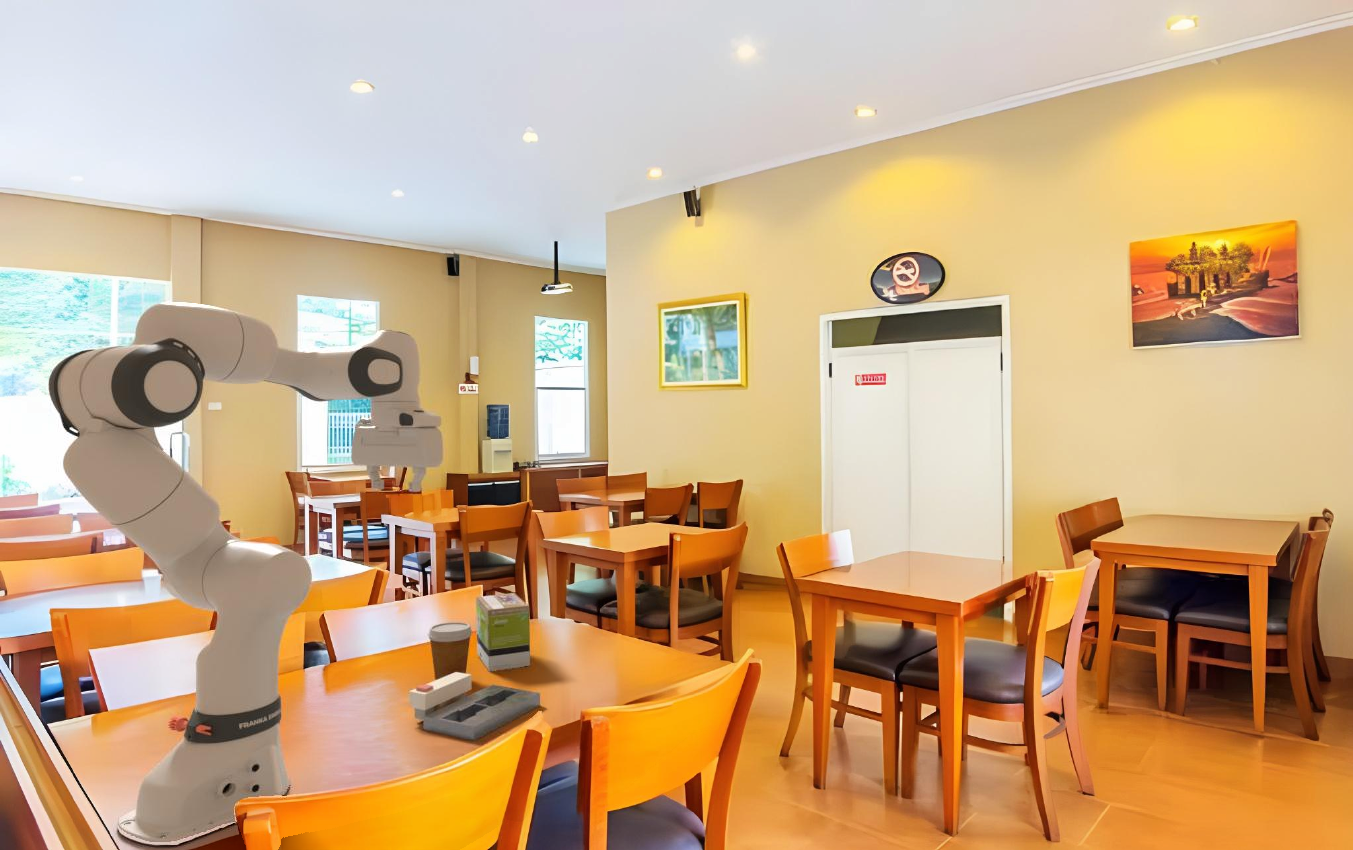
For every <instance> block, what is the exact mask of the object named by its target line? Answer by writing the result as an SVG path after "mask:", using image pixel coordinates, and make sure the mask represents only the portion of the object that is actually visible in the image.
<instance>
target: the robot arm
mask: <svg viewBox="0 0 1353 850" xmlns="http://www.w3.org/2000/svg"><path fill="white" fill-rule="evenodd" d="M419 355H420V354H419V348H418V345H417V342H416V340H415V338H414V337H413V336H412V335H410V334H408V333H406V332H402V331H397V330H390V329H387V330H386V329H383V330H382V329H381V330H378V331H376V332H374V335H372V336H371V337H370V338H368V339H366V340H365V341H362V342H360V343H357V344H354V345H348V346H334V347H330V346H329V347H325V346H316V347H308V348H306V349H303V350H299V351H298V350H297V351H296V350H293V349H288V348H284V347H282V346H281V347H280V346H279V344H278V340H277V336H276V334H275V332H274V331H273V329H272V328H271V326H270V325H269V324H268V323H266V322H264V321H262V320H260V319H258V318H256V317H254V316H251V315H248V314H246V313H242V312H239V311H235V310H231V309H226V308H221V307H218V306H212V305H206V304H200V303H199V304H198V303H191V302H190V303H189V302H173V301H166V302H165V301H164V302H159V303H157V304H153V305H151V306H150V307H149V308H147V309H146V310H145V311H144V312H143V313H142V314H141V316H140V317H139V320H138V321H137V324H136V328H135V336H134V339H133V342H131V344H130V345H129V344H128V346H123V345H119V346H108V347H102V348H97V349H85V350H81V351H78V352H76V353H73V354H72V355H71V354H70V355H69V356H67V357H65V358H64V359H62V360H61V361H60V362H59V363H57V365H56V366H55V367H54V368H53V369H52V371H51V373H50V376H49V380H48V393H49V397H50V399H51V402H52V404H53V406H54V408H55V410H56V411H57V413H58V414H59V417H60V421H61V424H62V427H63V429H64V430H65V431H66V432H67V433H69V434H71V435H72V436H75V437H77V438H76V439H74V440H73V442H72V443H70V445H69V446H68V448H67V450H66V451H65V453H64V456H63V460H62V466H63V471H64V473H65V475H66V476H67V478H68V479H69V480H70V482H71V483H72V484H73V485H74V487H75V488H76V489H77V491H78V492H79V494H80V495H81V496H82V497H83V498H84V499H85V500H86V501H87V502H88V504H89V505H91V507H92V508H93V509H94V510H95V511H97V512H98V514H100V515H101V517H103V519H105V520H106V521H107V522H108V523H109V524H111V525H112V526H113V527H114V528H116V529H117V530H118V531H119V532H120V533H121V534H123V535H124V536H125V537H126V538H127V539H128V540H129V541H131V542H132V543H133V544H134V545H136V546H137V547H138V548H139V549H140V550H142V551H143V553H145V554H146V555H147V556H148V558H150V559H151V560H152V561H153V562H154V564H155V565H156V566H157V568H158V569H159V571H160V572H161V574H162V575H163V583H164V585H165V588H166V590H167V592H168V593H169V594H170V595H171V596H172V597H173V598H175V599H177V600H179V601H180V602H182V603H184V604H186V605H188V606H190V607H192V608H195V609H200V610H206V611H211V612H212V611H213V612H216V613H217V620H216V625H215V628H214V629H215V630H214V633H213V635H212V638H211V641H210V642H209V643H208V644H207V645H206V646H204V647H203V648H202V649H201V650H200V652H198V654H197V656H196V660H195V706H194V708H193V710H192V713H191V714H190V717H189V719H188V718H187V717H182V716H180V715H174V716H172V717H171V718H170V720H169V721H168V724H167V726H168V729H170V731H176V732H178V733H179V732H183V738H182V739H181V740H180V742H178V743H177V744H176V745H175V746H174V748H173V749H172V750H170V751H169V752H168V753H167V754H166V755H165V757H163V759H162V760H161V761H159V763H158V764H157V765H155V766H154V768H152V769H151V770H150V772H149V773H147V774H146V775H145V777H144V778H143V779H142V781H141V784H140V786H139V790H138V795H137V801H136V807H135V809H133V810H131V811H129V812H127V813H126V814H125V813H124V815H122V816H120V817H119V818H118V820H117V826H119V828H120V829H121V830H123V831H124V832H126V833H127V834H130V835H131V836H135V837H136V838H139V839H142V840H145V841H149V842H171V841H177V840H180V839H183V838H187V837H189V836H193V835H195V834H199V833H201V832H206V831H207V830H211V829H213V828H215V827H217V826H221V825H222V824H227V823H231V822H236V821H235V815H234V806H235V804H236V803H237V802H238V801H240V800H242V799H244V798H248V797H259V796H274V795H284V796H285V794H286V793H287V791H288V790H289V788H290V786H291V781H290V778H289V775H288V774H287V773H288V772H287V770H286V766H285V761H284V756H283V751H282V744H281V736H280V723H281V719H282V698H281V695H280V694H279V684H278V683H279V654H280V646H281V641H282V637H283V635H284V631H285V628H286V625H287V623H288V621H289V619H290V617H291V615H292V614H293V613H294V611H296V610H297V609H298V608H299V607H300V606H301V605H303V603H304V601H305V600H306V598H307V597H308V595H309V592H310V590H311V587H312V582H313V581H312V580H313V579H312V578H313V577H312V569H311V565H310V563H309V561H308V560H307V559H306V558H305V557H304V556H303V555H302V554H301V553H299V552H297V551H295V550H292V549H290V548H287V547H285V546H282V545H280V544H276V543H268V542H267V543H266V542H257V541H248V540H244V539H241V538H240V537H239V538H238V537H237V536H234V535H233V534H232V533H230V532H229V531H228V530H227V529H226V528H225V527H224V525H223V523H222V521H221V519H220V514H221V510H220V509H221V508H220V505H219V503H218V502H217V500H216V499H215V498H214V496H212V495H211V494H210V493H209V492H208V491H207V490H206V489H205V488H204V487H203V486H201V484H200V483H199V482H198V481H196V479H194V477H192V476H191V474H189V473H188V472H187V471H186V470H185V469H184V467H182V466H181V465H180V464H179V463H178V462H177V461H176V460H175V459H174V458H173V457H172V456H170V455H169V454H168V453H167V452H165V451H164V448H163V447H162V445H161V444H160V442H159V439H158V438H157V434H156V430H155V428H163V427H166V426H171V425H174V424H176V423H179V422H181V421H183V420H185V419H186V418H187V417H189V416H190V415H192V413H193V412H194V411H195V410H196V409H197V407H198V405H199V403H200V400H201V398H202V394H203V390H204V381H210V382H215V383H216V382H217V383H222V384H236V385H237V384H238V385H239V384H241V385H242V384H245V385H246V384H258V383H261V382H268V383H272V384H273V383H274V384H278V385H282V386H283V385H284V386H286V387H289V388H292V389H293V390H294V391H296V392H298V393H299V394H301V395H302V396H304V397H305V398H306V399H309V400H311V401H313V402H320V403H321V402H328V401H329V402H330V401H334V400H335V401H337V400H338V401H341V400H347V401H348V400H367V399H370V418H369V417H362V418H360V419H359V420H358V421H357V422H356V423H355V425H354V433H353V436H352V444H351V452H350V453H351V455H350V456H351V457H350V458H351V462H352V463H353V465H354V466H364V467H365V466H366V473H367V475H368V477H369V480H370V481H371V490H373V491H374V490H375V491H380V490H384V489H385V480H383V479H381V476H380V473H379V472H381V467H394V468H396V467H398V468H399V467H401V468H402V467H403V468H411V469H412V470H411V471H412V473H413V474H414V475H413V478H412V481H409V482H408V491H409V492H412V493H414V492H415V493H417V492H418V493H419V492H422V491H421V490H422V482H423V479H424V478H425V476H426V474H427V468H437V467H438V468H439V467H440V465H441V464H442V462H443V460H444V447H443V446H444V445H443V444H444V443H443V434H442V432H441V430H440V429H439V428H438V427H441V425H442V417H441V416H440V415H439V414H436V413H434V412H431V411H429V410H427V409H424V408H422V407H421V399H420V396H419V391H418V389H419V385H420V380H421V377H420V376H421V373H420V370H421V369H420V368H421V366H420V356H419ZM71 428H72V429H71ZM73 430H75V431H73ZM289 785H290V786H289ZM288 787H289V788H288ZM287 789H288V790H287ZM125 824H129V825H125ZM163 837H164V838H163Z"/></svg>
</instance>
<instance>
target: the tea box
mask: <svg viewBox="0 0 1353 850" xmlns="http://www.w3.org/2000/svg"><path fill="white" fill-rule="evenodd" d="M475 601H476V603H475V604H476V649H477V651H476V652H477V655H478V657H479V659H480V660H481V661H482V663H483V665H485V667H486V669H487V670H488V671H492V672H496V671H495V670H500V671H505V669H507V670H513V669H512V668H514V669H519V668H520V667H521V668H526V667H525V666H527V667H530V666H531V646H530V645H531V643H530V642H531V636H530V635H531V633H530V632H531V631H530V630H531V629H530V623H531V622H530V605H529V604H527V603H526V602H525V600H523V599H522V598H520V596H518V595H517V593H515V592H511V593H503V594H493V595H485V596H483V595H482V596H476V600H475Z"/></svg>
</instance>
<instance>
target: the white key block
mask: <svg viewBox="0 0 1353 850" xmlns="http://www.w3.org/2000/svg"><path fill="white" fill-rule="evenodd" d="M471 690H472V674H469V673H466V674H465V673H459V672H455V673H452V674H450V675H448V676H445V677H443V678H440V679H438V680H435V679H434V680H433V681H431V682H429V683H426V684H425V683H423V684H421V685H418V686H416V687H415V688H414V689H412V690H408V691H409V692H408V703H409V704H408V707H409V708H412V709H414V719H419V720H423V716H425V715H428V714H430V713H432V712H434V711H435V706H436V705H438V704H440V703H442V702H445V701H447V700H449V699H451V698H453V697H456V696H458V695H460V699H462V698H465V697H467V692H468V691H471Z"/></svg>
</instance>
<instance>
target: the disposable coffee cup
mask: <svg viewBox="0 0 1353 850" xmlns="http://www.w3.org/2000/svg"><path fill="white" fill-rule="evenodd" d="M472 634H473V629H472V628H471V625H470V624H469V623H467V622H461V621H460V622H459V621H453V622H452V621H450V622H441V623H437V624H435V625H432V626H430V627H429V631H428V633H427V636H428V638H429V641H430V648H431V655H432V656H431V657H432V664H433V672H434V681H435V680H438V679H440V678H443V677H445V676H448V675H450V674H452V673H455V672H459V673H465V674H467V665H468V659H469V651H470V641H471V636H472Z"/></svg>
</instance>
